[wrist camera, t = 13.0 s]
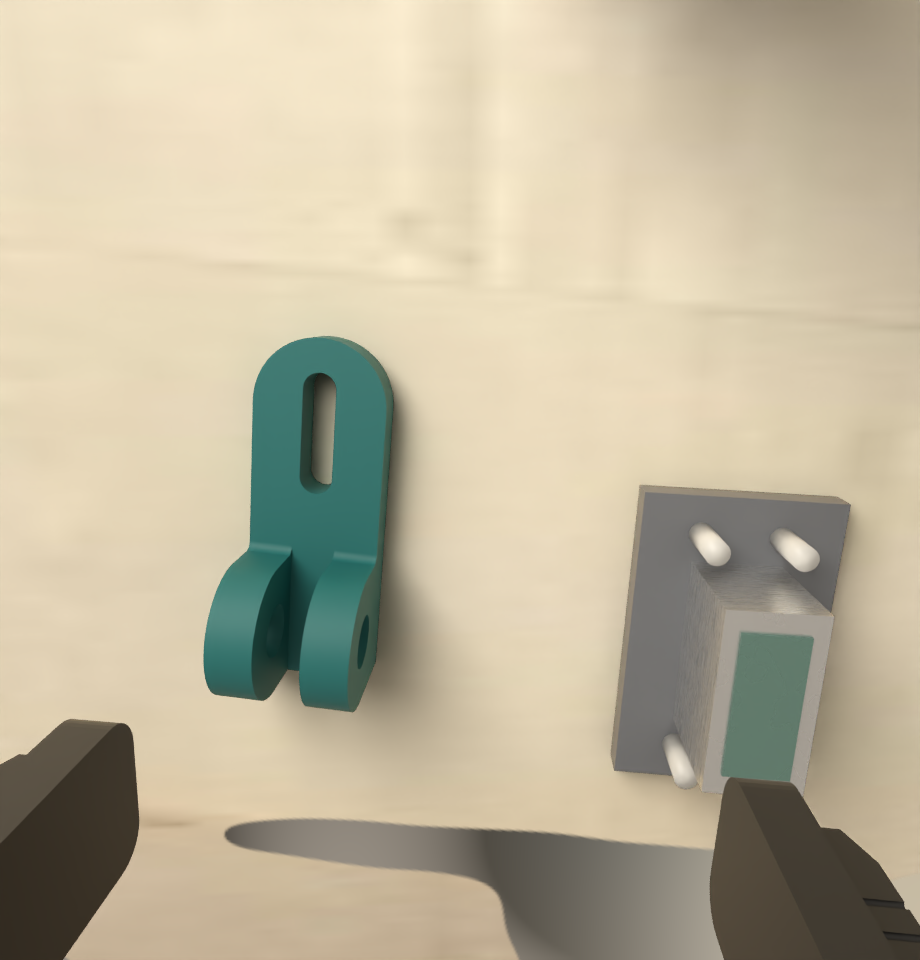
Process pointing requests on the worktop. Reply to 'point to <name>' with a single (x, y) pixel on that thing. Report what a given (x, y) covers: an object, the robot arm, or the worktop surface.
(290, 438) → the bracket
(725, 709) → the block
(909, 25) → the worktop surface
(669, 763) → the grey wall plate
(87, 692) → the worktop surface
